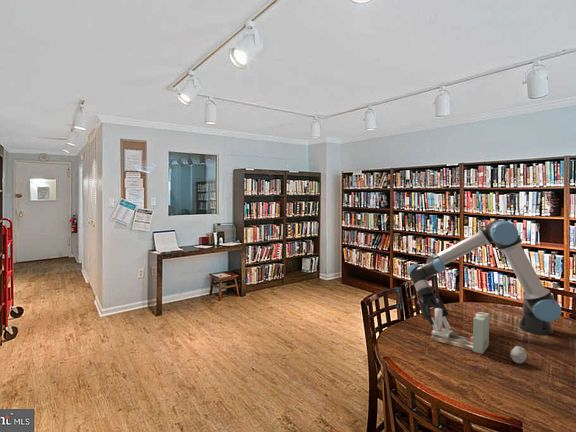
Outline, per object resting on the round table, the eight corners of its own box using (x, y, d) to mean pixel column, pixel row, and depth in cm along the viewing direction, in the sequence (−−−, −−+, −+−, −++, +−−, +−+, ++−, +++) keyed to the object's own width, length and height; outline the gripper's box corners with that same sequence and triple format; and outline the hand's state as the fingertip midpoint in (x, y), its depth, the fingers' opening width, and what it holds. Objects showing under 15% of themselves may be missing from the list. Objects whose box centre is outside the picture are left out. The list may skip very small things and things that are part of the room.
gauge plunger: (480, 343, 167) (480, 338, 167) (479, 344, 166) (479, 339, 166) (471, 340, 170) (471, 336, 170) (470, 342, 168) (470, 337, 168)
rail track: (479, 343, 171) (479, 339, 171) (473, 350, 164) (473, 345, 164) (437, 333, 185) (437, 328, 185) (430, 339, 178) (430, 334, 177)
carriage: (459, 334, 177) (459, 310, 176) (454, 339, 171) (454, 315, 170) (437, 329, 184) (437, 306, 183) (431, 334, 178) (431, 310, 178)
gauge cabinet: (489, 345, 169) (490, 311, 168) (483, 354, 160) (484, 318, 159) (478, 342, 172) (479, 309, 171) (471, 351, 164) (472, 315, 163)
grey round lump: (529, 363, 151) (530, 347, 151) (522, 367, 147) (522, 351, 147) (514, 357, 156) (515, 342, 156) (506, 362, 153) (507, 346, 152)
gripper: (436, 292, 196) (455, 331, 181) (405, 294, 192) (422, 334, 177) (442, 285, 190) (463, 324, 175) (410, 287, 186) (429, 328, 171)
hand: (442, 329), depth 176 cm, fingers open, 6 cm apart
